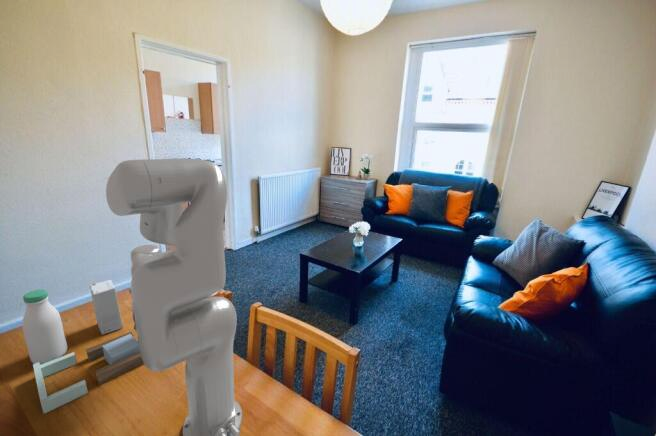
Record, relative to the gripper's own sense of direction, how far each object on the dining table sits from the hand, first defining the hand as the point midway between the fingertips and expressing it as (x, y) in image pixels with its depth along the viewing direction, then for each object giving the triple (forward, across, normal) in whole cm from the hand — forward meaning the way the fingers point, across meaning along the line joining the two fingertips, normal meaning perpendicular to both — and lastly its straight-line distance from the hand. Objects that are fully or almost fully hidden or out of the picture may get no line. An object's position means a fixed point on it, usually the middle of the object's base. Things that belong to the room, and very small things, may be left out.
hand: (156, 339), depth 90 cm
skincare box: (+1, -8, +19) cm, 21 cm away
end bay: (+1, -21, 0) cm, 21 cm away
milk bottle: (+1, -23, +15) cm, 27 cm away
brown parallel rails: (+1, -10, 0) cm, 10 cm away
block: (+1, -9, 0) cm, 9 cm away
